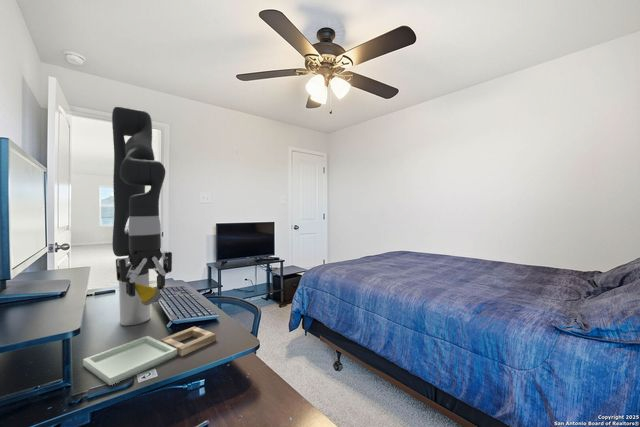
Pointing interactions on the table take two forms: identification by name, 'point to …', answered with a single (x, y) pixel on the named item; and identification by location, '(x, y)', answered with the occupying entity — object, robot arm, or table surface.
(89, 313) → the table surface
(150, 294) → the yellow cone
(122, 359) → the tray
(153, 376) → the table surface
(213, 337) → the square wooden frame
